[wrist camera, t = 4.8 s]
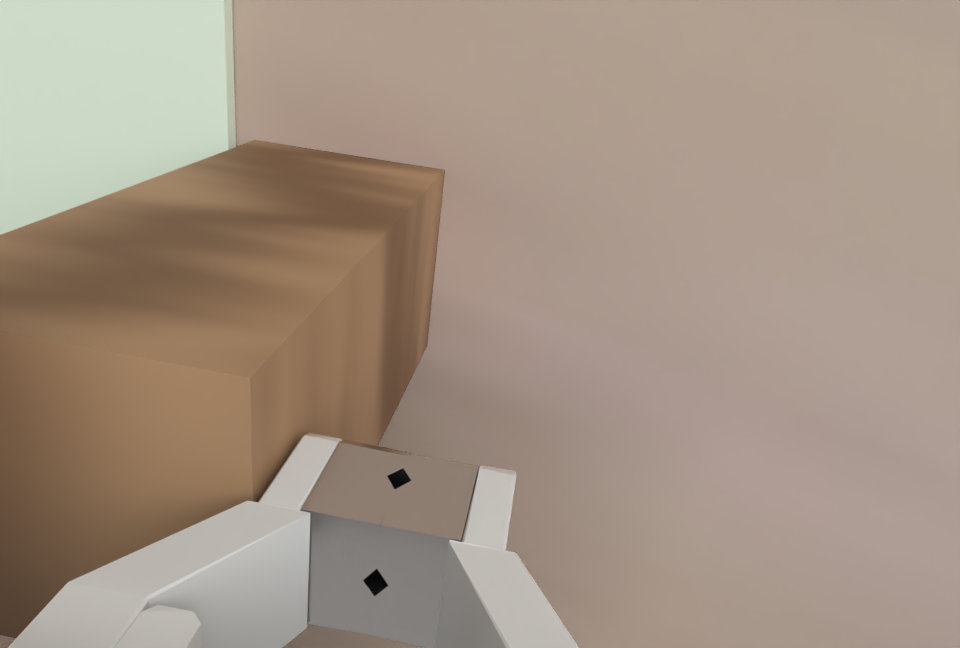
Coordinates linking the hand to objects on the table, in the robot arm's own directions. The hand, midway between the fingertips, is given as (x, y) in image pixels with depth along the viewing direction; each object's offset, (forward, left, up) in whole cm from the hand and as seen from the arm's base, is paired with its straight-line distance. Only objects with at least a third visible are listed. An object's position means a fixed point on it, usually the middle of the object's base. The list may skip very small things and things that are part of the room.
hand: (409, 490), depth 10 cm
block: (+4, 0, -9) cm, 10 cm away
